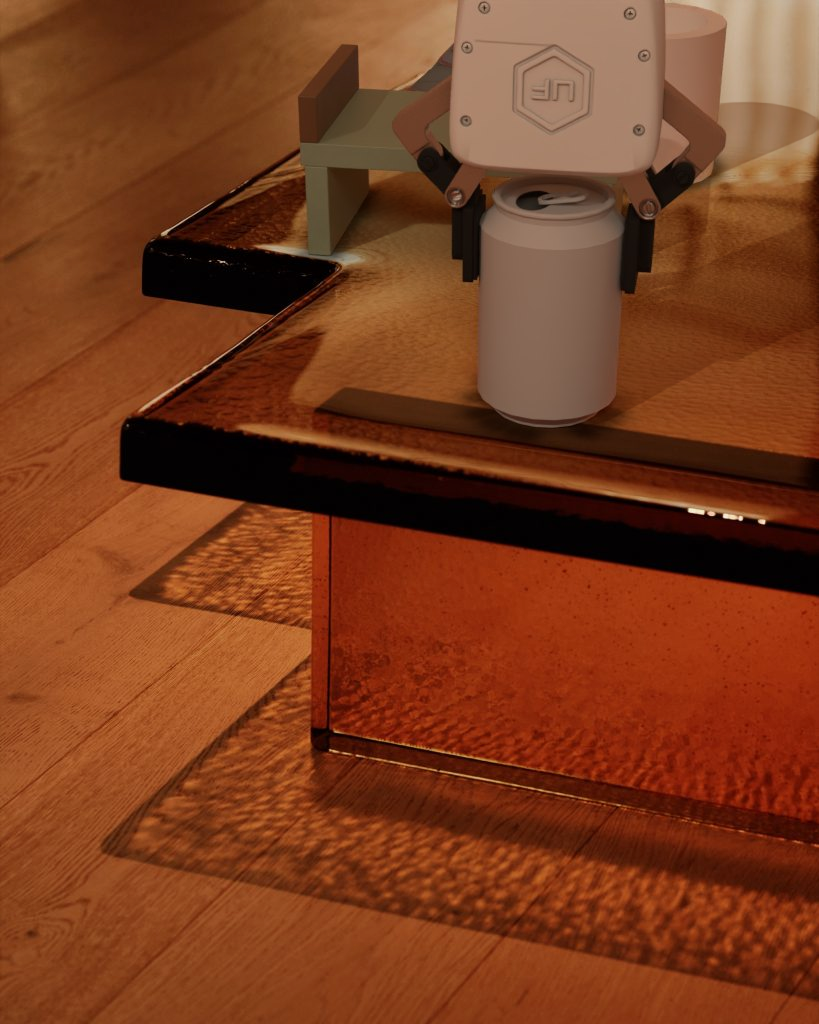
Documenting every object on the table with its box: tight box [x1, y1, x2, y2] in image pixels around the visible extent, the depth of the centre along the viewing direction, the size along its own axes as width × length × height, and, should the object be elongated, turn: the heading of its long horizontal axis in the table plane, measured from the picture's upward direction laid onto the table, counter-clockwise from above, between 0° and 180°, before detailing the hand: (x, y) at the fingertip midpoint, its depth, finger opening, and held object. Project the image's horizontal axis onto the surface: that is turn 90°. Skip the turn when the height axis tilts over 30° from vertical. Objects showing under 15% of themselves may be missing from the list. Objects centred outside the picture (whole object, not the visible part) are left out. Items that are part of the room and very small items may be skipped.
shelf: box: [297, 43, 625, 257], centre depth 105 cm, size 20×12×10 cm, turn 79°
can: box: [476, 174, 626, 429], centre depth 84 cm, size 8×8×12 cm
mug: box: [652, 2, 728, 185], centre depth 115 cm, size 14×10×11 cm
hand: (551, 276), depth 83 cm, fingers closed on can, 7 cm apart
